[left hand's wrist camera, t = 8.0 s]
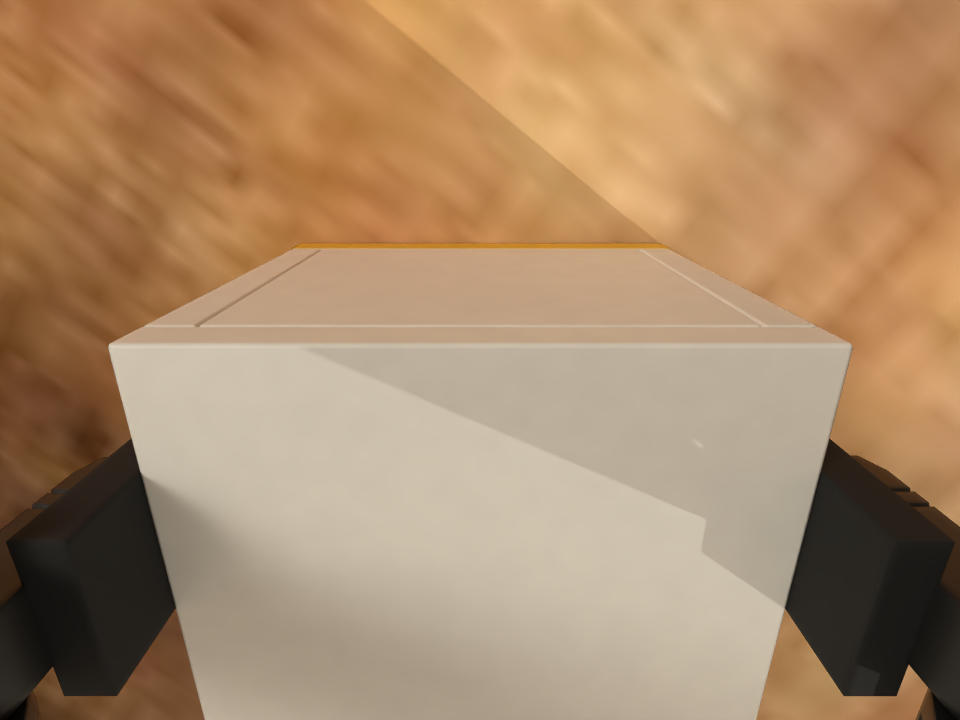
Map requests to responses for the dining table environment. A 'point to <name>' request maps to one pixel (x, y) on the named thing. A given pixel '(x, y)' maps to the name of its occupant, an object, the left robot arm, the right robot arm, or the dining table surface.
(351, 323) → the cabinet
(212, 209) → the dining table surface
